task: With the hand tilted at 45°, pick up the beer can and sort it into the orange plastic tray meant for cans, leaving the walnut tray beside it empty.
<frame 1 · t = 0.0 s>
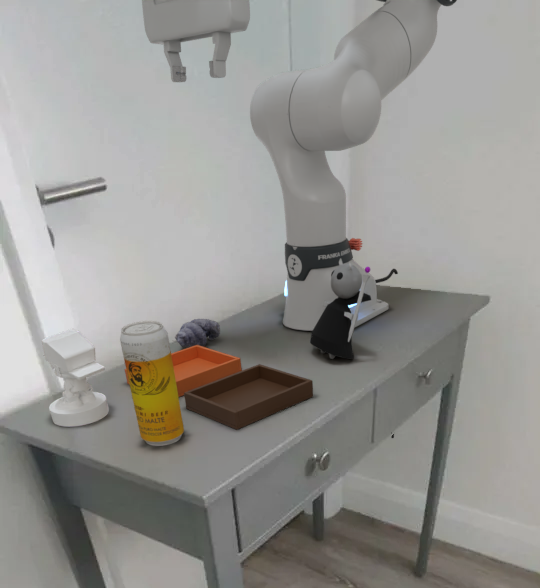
hand: (197, 80, 93), 39 cm above the table, tool pointing down, fingers open, 8 cm apart
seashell: (199, 347, 122), on the table
character figurine: (83, 416, 99), on the table
walnut tray: (249, 402, 98), on the table
can tray: (184, 378, 108), on the table
beer can: (163, 439, 90), on the table
toy: (339, 355, 112), on the table
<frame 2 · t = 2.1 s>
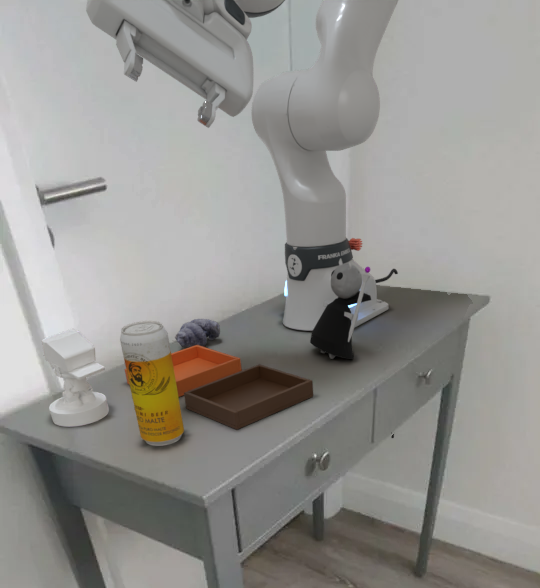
hand: (170, 98, 74), 37 cm above the table, tool tilted 50°, fingers open, 8 cm apart
nothing on the table moved.
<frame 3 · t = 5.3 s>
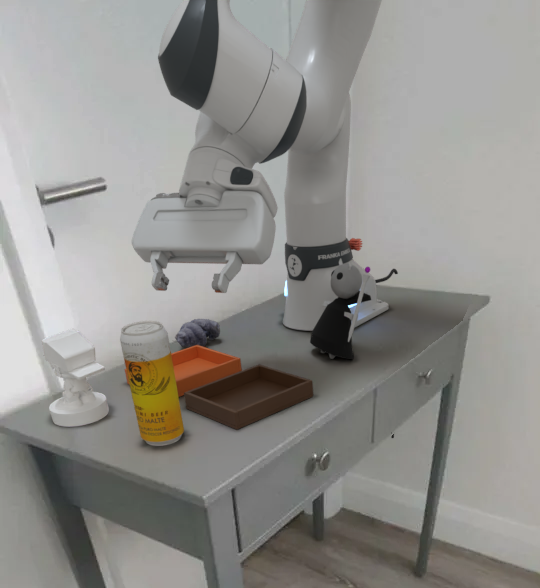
hand: (187, 289, 86), 17 cm above the table, tool tilted 45°, fingers open, 8 cm apart
nothing on the table moved.
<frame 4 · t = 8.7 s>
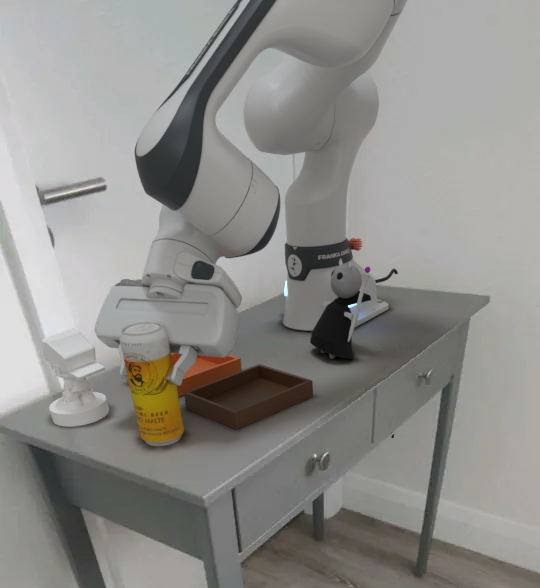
hand: (149, 380, 84), 8 cm above the table, tool tilted 45°, fingers closed on beer can, 6 cm apart
beer can: (163, 439, 90), on the table, touching gripper
everything else where it was.
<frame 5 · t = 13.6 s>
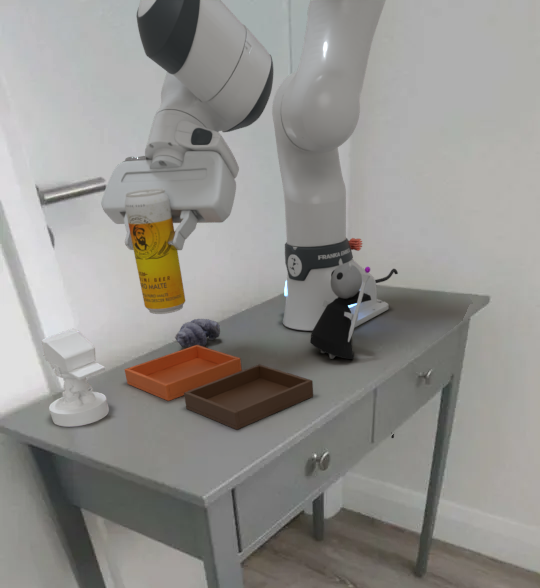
hand: (152, 247, 90), 21 cm above the table, tool tilted 45°, fingers closed on beer can, 6 cm apart
beer can: (166, 310, 96), point 12 cm above the table, touching gripper
everything else where it was.
when the fingers open (9 cm above the table, at t = 18.4 s): beer can stays where it is, resting on can tray.
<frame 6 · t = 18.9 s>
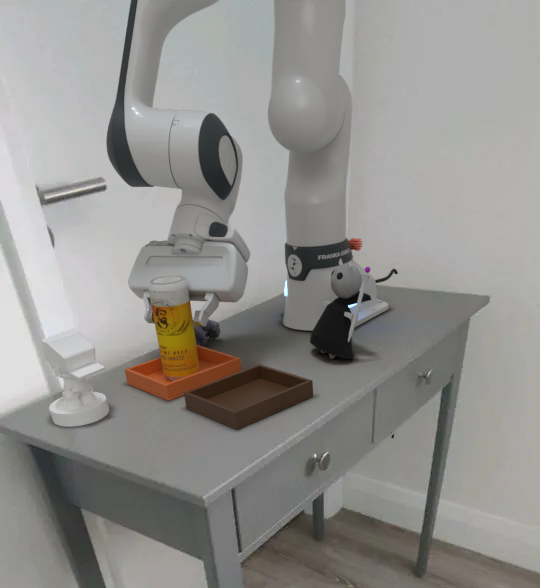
hand: (174, 323, 102), 9 cm above the table, tool tilted 45°, fingers open, 8 cm apart
beer can: (182, 376, 108), resting on can tray
everything else where it was.
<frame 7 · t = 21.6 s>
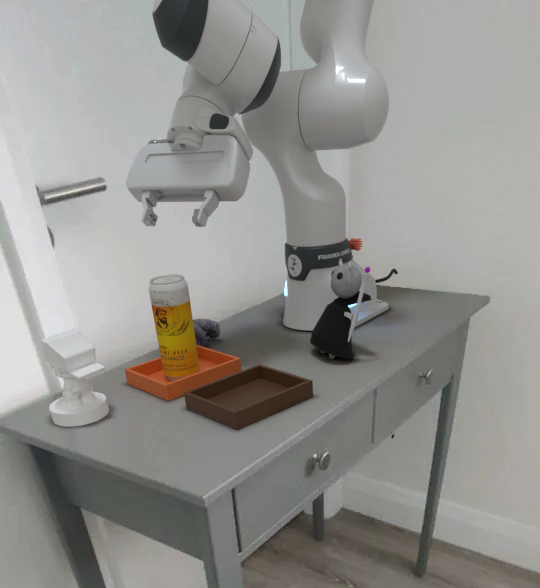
hand: (172, 224, 98), 22 cm above the table, tool tilted 45°, fingers open, 8 cm apart
nothing on the table moved.
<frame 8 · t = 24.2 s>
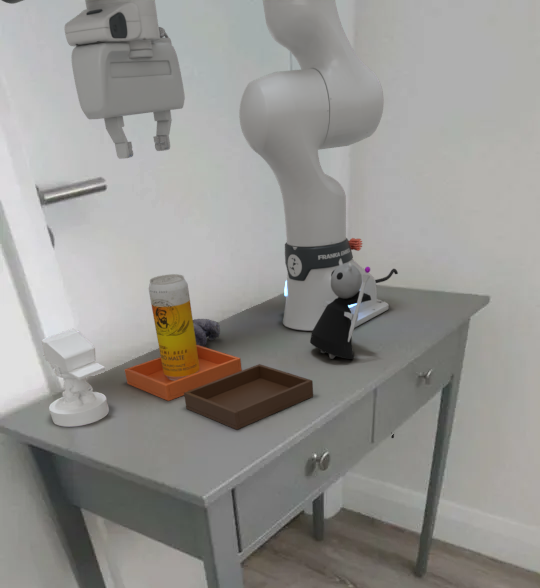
hand: (145, 154, 92), 31 cm above the table, tool pointing down, fingers open, 8 cm apart
nothing on the table moved.
at the end: beer can inside the target area in the can tray (0.4 cm from its centre), point 0.3 cm above the can tray's base; beer can tilted 0°; the gripper is holding nothing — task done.
